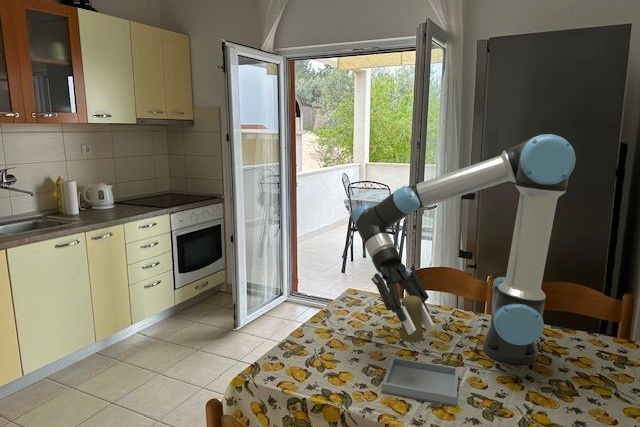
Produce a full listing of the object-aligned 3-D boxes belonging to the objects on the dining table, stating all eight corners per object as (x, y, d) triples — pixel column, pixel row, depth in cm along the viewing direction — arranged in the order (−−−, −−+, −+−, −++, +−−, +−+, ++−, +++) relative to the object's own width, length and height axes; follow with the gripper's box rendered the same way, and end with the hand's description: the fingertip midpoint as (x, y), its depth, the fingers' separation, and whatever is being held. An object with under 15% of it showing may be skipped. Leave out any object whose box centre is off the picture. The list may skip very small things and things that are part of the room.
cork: (423, 343, 112) (424, 301, 110) (399, 341, 113) (400, 300, 111) (423, 333, 117) (424, 293, 116) (400, 331, 119) (400, 292, 117)
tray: (458, 376, 119) (458, 367, 119) (455, 407, 105) (456, 397, 105) (392, 365, 125) (392, 356, 125) (381, 392, 111) (381, 383, 111)
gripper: (403, 256, 130) (441, 328, 118) (350, 264, 122) (385, 343, 110) (415, 242, 125) (456, 316, 113) (361, 249, 116) (399, 331, 104)
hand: (421, 329), depth 111 cm, fingers closed on cork, 5 cm apart
